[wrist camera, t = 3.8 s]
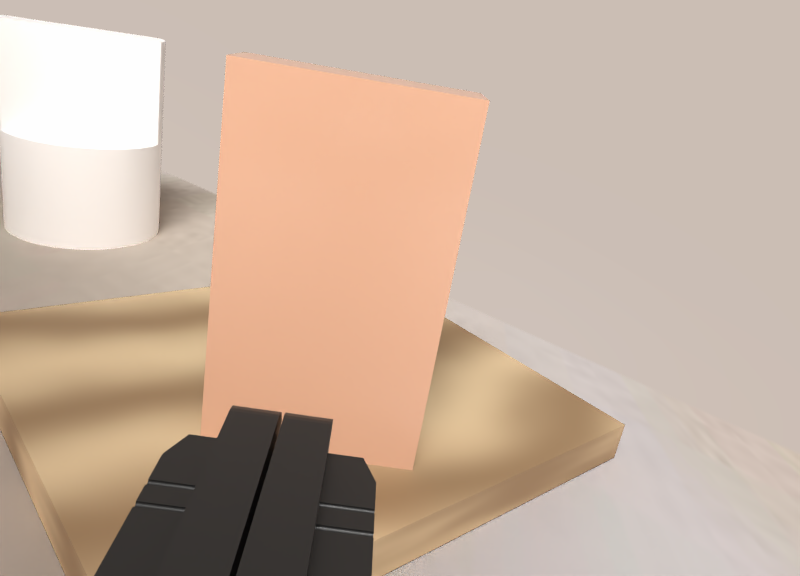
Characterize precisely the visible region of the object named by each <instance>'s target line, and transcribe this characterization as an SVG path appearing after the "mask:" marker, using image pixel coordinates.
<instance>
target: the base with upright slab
mask: <svg viewBox="0 0 800 576" xmlns="http://www.w3.org/2000/svg"><path fill="white" fill-rule="evenodd" d="M165 46H166V41H164V40H163V39H159V38H153V37H146V36H139V35H133V34H126V33H120V32H113V31H107V30H100V29H93V28H87V27H80V26H73V25H67V24H60V23H53V22H46V21H40V20H34V19H26V18H20V17H13V16H7V15H0V157H1V177H2V196H3V216H4V228H5V229H6V230H7V231H8V233H9V234H11V235H13V236H15V237H17V238H19V239H21V240H24V241H27V242H31V243H34V244H38V245H44V246H49V247H55V248H65V249H78V250H102V249H113V248H123V247H128V246H133V245H138V244H140V243H143V242H146V241H149V240H150V239H152V238H153V237H155V236H156V235H157V233H158V230H159V210H160V182H161V154H162V128H163V100H164V74H165Z"/></svg>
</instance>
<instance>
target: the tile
mask: <svg viewBox="0 0 800 576" xmlns="http://www.w3.org/2000/svg"><path fill="white" fill-rule="evenodd" d="M488 106H489V100H488V99H487V98H486V97H484V96H483V95H482V94H481V93H476V92H470V91H465V90H459V89H453V88H448V87H442V86H436V85H430V84H425V83H418V82H413V81H407V80H402V79H396V78H390V77H385V76H379V75H373V74H367V73H362V72H356V71H350V70H344V69H338V68H333V67H327V66H321V65H316V64H310V63H304V62H299V61H293V60H287V59H281V58H276V57H270V56H264V55H258V54H253V53H247V52H242V53H236V54H230V55H226V70H225V85H224V98H223V113H222V128H221V142H220V157H219V171H218V187H217V200H216V215H215V230H214V244H213V259H212V273H211V288H210V302H209V317H208V331H207V346H206V361H205V375H204V390H203V404H202V419H201V433H200V436H206V437H213V438H217V437H218V435H219V432H220V430H221V428H222V426H223V424H224V421H225V419H226V417H227V415H228V412H229V410H230V408H231V407H232V406H233V405H235V406H242V407H249V408H256V409H263V410H271V411H278V412H282V421H283V417H284V414H285V413H293V414H300V415H307V416H315V417H322V418H329V419H333V425H332V432H331V438H330V445H329V452H328V453H331V454H338V455H346V456H353V457H360V458H364V460H365V462H366V464H369V465H377V466H384V467H391V468H398V469H406V470H413V466H414V461H415V456H416V451H417V447H418V442H419V437H420V432H421V427H422V423H423V418H424V413H425V408H426V403H427V399H428V394H429V389H430V384H431V379H432V375H433V370H434V365H435V360H436V355H437V351H438V346H439V341H440V336H441V331H442V327H443V322H444V317H445V312H446V307H447V303H448V298H449V293H450V288H451V283H452V279H453V273H454V269H455V264H456V259H457V255H458V250H459V245H460V240H461V236H462V231H463V226H464V221H465V216H466V212H467V207H468V202H469V197H470V192H471V188H472V183H473V178H474V173H475V168H476V163H477V159H478V154H479V149H480V144H481V140H482V135H483V130H484V125H485V120H486V116H487V110H488Z"/></svg>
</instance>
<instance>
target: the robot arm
mask: <svg viewBox="0 0 800 576" xmlns="http://www.w3.org/2000/svg"><path fill="white" fill-rule="evenodd" d="M332 425H333V419H329V418H322V417H315V416H307V415H300V414H293V413H285V414H284V417H283V421H282V412H278V411H271V410H263V409H256V408H249V407H242V406H235V405H233V406H232V407H231V408H230V410H229V412H228V415H227V417H226V419H225V421H224V424H223V426H222V428H221V430H220V432H219V435H218V437H217V438H213V437H206V436H199V435H191V434H189V435H187V436H186V437H185V438H183V439H182V440H180V441H179V442H178V443H176V444H175V445H174V446H172V447H171V448H169V449H168V450H167V451H165V452H164V453H163V454H162V455H161V457H160V459H159V461H158V462H157V464H156V466H155V468H154V470H153V471H152V473H151V475H150V477H149V478H148V483H147V484H145V486H144V487H143V489H142V491H141V493H140V494H139V496H138V498H137V500H136V504H135V507H132V509H131V511H130V512H129V514H128V516H127V518H126V519H125V521H124V523H123V525H122V527H121V528H120V530H119V532H118V534H117V535H116V537H115V539H114V541H113V543H112V544H111V546H110V548H109V550H108V552H107V553H106V555H105V557H104V559H103V560H102V562H101V564H100V566H99V568H98V569H97V571H96V573H95V575H94V576H372V560H373V540H374V538H373V534H374V520H375V514H374V513H375V500H376V481H375V479H374V477H373V475H372V473H371V471H370V469H369V468H368V466H367V464H366V462H365V460H364V458H360V457H353V456H346V455H338V454H331V453H328V452H329V445H330V438H331V432H332Z"/></svg>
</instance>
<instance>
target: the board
mask: <svg viewBox="0 0 800 576" xmlns="http://www.w3.org/2000/svg"><path fill="white" fill-rule="evenodd" d="M210 288H211V287H204V288H195V289H187V290H179V291H171V292H163V293H154V294H146V295H138V296H130V297H122V298H113V299H105V300H97V301H89V302H81V303H72V304H64V305H56V306H48V307H40V308H31V309H23V310H15V311H7V312H0V429H1V432H2V434H3V436H4V438H5V441H6V443H7V445H8V447H9V450H10V452H11V454H12V456H13V459H14V461H15V463H16V465H17V468H18V470H19V472H20V474H21V477H22V479H23V481H24V483H25V486H26V488H27V490H28V492H29V495H30V497H31V499H32V501H33V504H34V506H35V508H36V510H37V513H38V515H39V517H40V519H41V522H42V524H43V526H44V528H45V531H46V533H47V535H48V537H49V540H50V542H51V544H52V546H53V549H54V551H55V553H56V555H57V558H58V560H59V562H60V564H61V567H62V569H63V571H64V573H65V576H94V575H95V573H96V571H97V569H98V568H99V566H100V564H101V562H102V560H103V559H104V557H105V555H106V553H107V552H108V550H109V548H110V546H111V544H112V543H113V541H114V539H115V537H116V535H117V534H118V532H119V530H120V528H121V527H122V525H123V523H124V521H125V519H126V518H127V516H128V514H129V512H130V511H131V509H132V507H135V504H136V500H137V498H138V496H139V494H140V493H141V491H142V489H143V487H144V486H145V484H147V483H148V478H149V477H150V475H151V473H152V471H153V470H154V468H155V466H156V464H157V462H158V461H159V459H160V457H161V455H162V454H163V453H164V452H165V451H167V450H168V449H169V448H171V447H172V446H174V445H175V444H176V443H178V442H179V441H180V440H182V439H183V438H185V437H186V436H187V435H189V434H191V435H199V436H200V433H201V419H202V404H203V390H204V375H205V361H206V346H207V331H208V317H209V302H210ZM624 426H625V425H624V424H623V423H621V422H619V421H618V420H616V419H614V418H613V417H611V416H609V415H608V414H606V413H604V412H602V411H601V410H599V409H597V408H596V407H594V406H592V405H591V404H589V403H587V402H586V401H584V400H582V399H581V398H579V397H577V396H576V395H574V394H572V393H571V392H569V391H567V390H566V389H564V388H562V387H561V386H559V385H557V384H556V383H554V382H552V381H550V380H549V379H547V378H545V377H544V376H542V375H540V374H539V373H537V372H535V371H534V370H532V369H530V368H529V367H527V366H525V365H524V364H522V363H520V362H519V361H517V360H515V359H514V358H512V357H510V356H509V355H507V354H505V353H504V352H502V351H500V350H499V349H497V348H495V347H493V346H492V345H490V344H488V343H487V342H485V341H483V340H482V339H480V338H478V337H477V336H475V335H473V334H472V333H470V332H468V331H467V330H465V329H463V328H462V327H460V326H458V325H457V324H455V323H453V322H452V321H450V320H448V319H447V318H445V317H444V322H443V327H442V331H441V336H440V341H439V346H438V351H437V355H436V360H435V365H434V370H433V375H432V379H431V384H430V389H429V394H428V399H427V403H426V408H425V413H424V418H423V423H422V427H421V432H420V437H419V442H418V447H417V451H416V456H415V461H414V466H413V470H406V469H398V468H391V467H384V466H377V465H369V464H367V466H368V468H369V469H370V471H371V473H372V475H373V477H374V479H375V481H376V500H375V513H374V514H375V520H374V534H373V538H374V540H373V560H372V576H383V575H385V574H387V573H389V572H391V571H392V570H394V569H396V568H398V567H400V566H402V565H404V564H406V563H408V562H410V561H412V560H414V559H416V558H418V557H420V556H422V555H424V554H426V553H428V552H430V551H432V550H434V549H436V548H437V547H439V546H441V545H443V544H445V543H447V542H449V541H451V540H453V539H455V538H457V537H459V536H461V535H463V534H465V533H467V532H469V531H471V530H473V529H475V528H477V527H479V526H481V525H483V524H484V523H486V522H488V521H490V520H492V519H494V518H496V517H498V516H500V515H502V514H504V513H506V512H508V511H510V510H512V509H514V508H516V507H518V506H520V505H522V504H524V503H526V502H528V501H530V500H531V499H533V498H535V497H537V496H539V495H541V494H543V493H545V492H547V491H549V490H551V489H553V488H555V487H557V486H559V485H561V484H563V483H565V482H567V481H569V480H571V479H573V478H575V477H576V476H578V475H580V474H582V473H584V472H586V471H588V470H590V469H592V468H594V467H596V466H598V465H600V464H602V463H604V462H606V461H608V460H610V459H612V458H614V456H615V453H616V450H617V447H618V444H619V441H620V438H621V435H622V432H623V429H624Z"/></svg>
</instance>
